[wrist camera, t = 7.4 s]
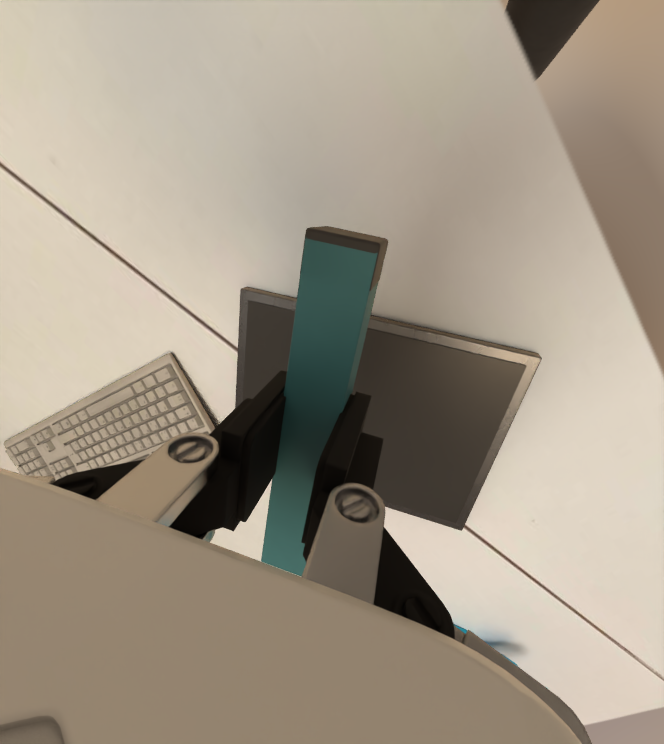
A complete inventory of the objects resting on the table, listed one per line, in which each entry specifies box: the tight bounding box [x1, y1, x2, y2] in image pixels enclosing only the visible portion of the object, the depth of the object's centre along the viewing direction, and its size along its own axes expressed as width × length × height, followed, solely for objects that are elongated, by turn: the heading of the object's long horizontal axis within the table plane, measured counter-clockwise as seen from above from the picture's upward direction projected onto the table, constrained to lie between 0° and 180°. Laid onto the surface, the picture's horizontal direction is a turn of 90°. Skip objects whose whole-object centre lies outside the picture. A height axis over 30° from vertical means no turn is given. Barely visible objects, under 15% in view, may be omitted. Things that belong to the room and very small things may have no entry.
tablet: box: [235, 287, 542, 530], centre depth 28 cm, size 16×21×1 cm
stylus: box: [261, 226, 388, 577], centre depth 12 cm, size 13×2×2 cm, turn 169°
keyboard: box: [4, 353, 215, 481], centre depth 37 cm, size 29×10×2 cm, turn 118°
